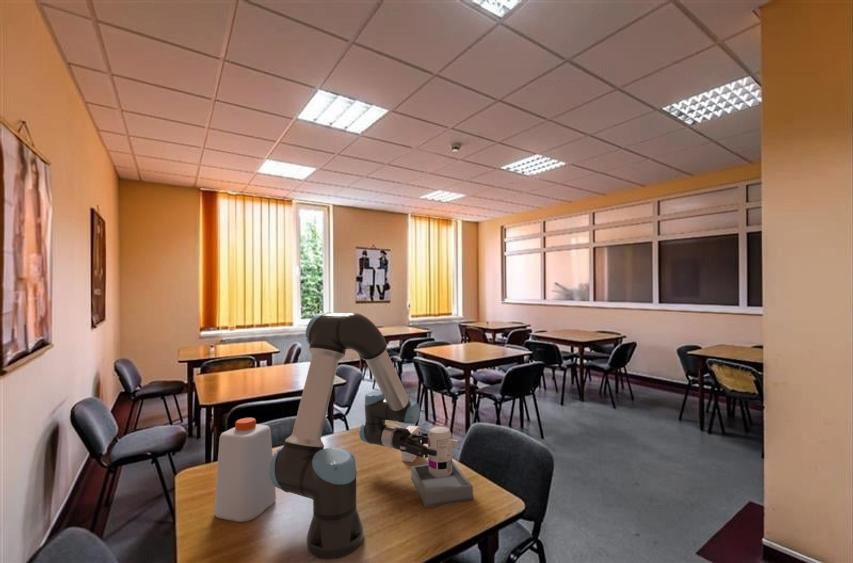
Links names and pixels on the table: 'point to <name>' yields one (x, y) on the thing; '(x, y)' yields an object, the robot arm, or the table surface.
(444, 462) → the supplement can
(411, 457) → the ink box
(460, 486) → the tote
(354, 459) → the robot arm
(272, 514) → the table surface
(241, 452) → the plastic bottle
